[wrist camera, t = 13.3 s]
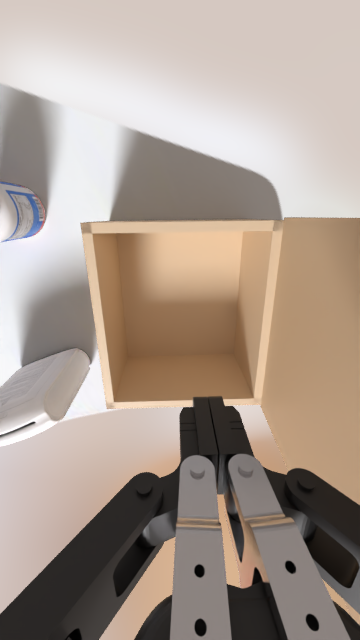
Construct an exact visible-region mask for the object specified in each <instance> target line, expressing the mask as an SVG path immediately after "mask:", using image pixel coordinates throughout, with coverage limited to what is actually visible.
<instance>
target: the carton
mask: <svg viewBox="0 0 360 640" xmlns="http://www.w3.org/2000/svg"><path fill="white" fill-rule="evenodd" d="M283 224H284V220H258V219H226V220H145V221H101V222H86V223H81V230H82V238H83V245H84V252H85V259H86V266H87V273H88V280H89V287H90V294H91V301H92V308H93V315H94V322H95V329H96V336H97V343H98V350H99V357H100V364H101V371H102V378H103V385H104V392H105V399H106V407H107V409H122V408H157V407H192V406H193V397H208V396H222V398H223V401H224V405H225V406H226V405H261V398H262V391H263V383H264V375H265V367H266V359H267V351H268V343H269V335H270V327H271V319H272V311H273V304H274V296H275V288H276V280H277V272H278V264H279V256H280V248H281V240H282V232H283Z"/></svg>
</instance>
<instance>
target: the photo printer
mask: <svg viewBox="0 0 360 640" xmlns="http://www.w3.org/2000/svg"><path fill="white" fill-rule="evenodd" d="M89 365H90V360H89V357H88V356H87V354H86V353H85V352H84V351H82V350H79V349H78V348H74V349H69V350H66V351H63V352H60V353H57V354H54V355H51V356H49V357H46V358H43V359H41V360H38V361H35V362H33V363H30V364H28V365H26V366H24V367H22V368H21V369H19V370H18V371H16V372H15V373H14V374H13V375H12V376H11V377H10V378H9V379H8V380H7V381H6V382H5V383H4V384H3V385H2V386H1V387H0V446H4V445H8V444H11V443H15V442H18V441H21V440H23V439H26V438H29V437H31V436H33V435H36V434H38V433H40V432H42V431H44V430H46V429H48V428H50V427H51V426H53V425H54V424H56V423H58V422H59V421H60V420H61V419H62V418H63V417H64V416H65V414H66V412H67V411H68V409H69V407H70V405H71V403H72V402H73V400H74V398H75V396H76V394H77V393H78V391H79V389H80V387H81V385H82V383H83V382H84V380H85V378H86V376H87V374H88V372H89V370H90V367H89Z"/></svg>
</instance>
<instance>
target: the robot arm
mask: <svg viewBox="0 0 360 640" xmlns="http://www.w3.org/2000/svg"><path fill="white" fill-rule="evenodd" d="M180 454H181V462H180V464H179V466H178V468H177V469H176V470H175V471H174V472H173V473H171V474H169V475H167V476H164V477H161V478H159V477H158V476H157V475H155V474H153V473H149V472H144V473H140V474H138V475H136V476H134V477H133V478H132V479H131V480H130V481H129V482H128V483H127V484H126V485H125V486H124V487H123V488H122V489H121V490H120V491H119V492H118V493H117V494H116V495H115V496H114V497H113V499H111V501H110V502H109V503H108V504H107V505H106V506H105V507H104V508H103V509H102V510H101V511H100V512H99V513H98V514H97V515H96V516H95V517H94V518H93V519H92V520H91V521H90V522H89V523H88V524H87V525H86V526H85V527H84V528H83V529H82V530H81V531H80V532H79V534H78V535H77V536H76V537H75V538H74V539H73V540H72V541H71V542H70V543H69V544H68V545H67V546H66V547H65V548H64V549H63V550H62V551H61V552H60V553H59V554H58V555H57V556H56V557H55V558H54V559H53V560H52V561H51V562H50V563H49V564H48V565H47V566H46V568H45V569H44V570H43V571H42V572H41V573H40V574H39V575H38V576H37V577H36V578H35V579H34V580H33V581H32V582H31V583H30V584H29V585H28V586H27V587H26V588H25V589H24V590H23V591H22V592H21V593H20V594H19V596H18V597H16V599H14V601H13V602H12V603H11V604H10V605H9V606H8V607H7V608H6V609H5V610H4V611H3V612H2V613H1V614H0V640H99V638H100V637H101V635H102V634H103V633H104V631H105V629H106V628H107V627H108V625H109V624H110V622H111V621H112V619H113V618H114V616H115V615H116V613H117V612H118V611H119V609H120V608H121V606H122V604H123V603H124V602H125V600H126V599H127V597H128V596H129V594H130V593H131V591H132V590H133V589H134V587H135V586H136V584H137V583H138V581H139V580H140V578H141V577H142V575H143V574H144V572H145V571H146V569H147V568H148V566H149V565H150V563H151V562H152V560H153V559H154V558H155V556H156V554H157V553H158V552H159V550H160V549H161V547H162V546H163V544H164V542H165V541H167V540H169V539H171V538H174V537H176V539H175V541H176V542H175V558H174V575H173V576H174V577H173V594H172V595H170V596H169V597H167V598H166V599H164V600H163V601H162V602H161V603H160V604H158V605H157V606H156V607H155V609H154V610H153V611H152V612H151V613H150V615H149V616H148V617H147V619H146V620H145V622H144V623H143V625H142V627H141V628H140V630H139V632H138V634H137V635H136V638H135V639H134V640H360V625H359V624H358V623H357V622H356V621H355V620H354V619H353V618H352V617H351V616H350V615H349V614H348V613H347V612H346V611H345V610H344V609H343V608H341V607H340V606H339V605H338V604H337V603H335V602H334V601H333V600H332V599H331V597H330V595H329V593H328V591H327V589H326V587H325V584H324V582H323V580H324V581H325V582H327V584H328V585H329V586H331V588H333V589H334V590H335V591H336V592H337V593H338V594H339V595H340V596H341V597H342V598H343V599H344V600H345V601H346V602H347V603H348V604H349V605H350V606H351V607H352V608H353V609H354V610H355V611H356V612H358V613H359V614H360V505H359V504H357V503H356V502H354V501H353V500H352V499H350V498H349V497H347V496H346V495H344V494H343V493H341V492H340V491H339V490H337V489H336V488H334V487H333V486H331V485H330V484H328V483H327V482H326V481H324V480H323V479H321V478H320V477H318V476H317V475H316V474H314V473H312V472H311V471H309V470H306V469H302V468H294V469H291V470H290V471H289V472H288V473H287V475H284V474H281V473H277V472H273V471H270V470H268V469H266V468H264V467H263V466H262V465H261V463H260V462H259V461H258V460H257V459H256V458H255V457H254V455H253V452H252V449H251V446H250V443H249V440H248V437H247V434H246V431H245V429H244V425H243V423H242V419H241V417H240V414H239V412H238V411H237V410H236V409H235V408H234V407H233V406H225V405H224V401H223V398H222V396H208V397H193V407H184V408H183V409H182V411H181V413H180ZM216 489H217V490H216ZM217 494H224V499H225V516H226V521H227V525H228V528H229V533H230V536H231V540H232V545H233V549H234V553H235V557H236V561H237V565H238V570H239V577H240V587H241V588H238V587H235V586H232V585H228V584H227V583H226V571H225V561H224V550H223V538H222V528H221V523H220V522H219V514H218V502H217ZM322 579H323V580H322Z"/></svg>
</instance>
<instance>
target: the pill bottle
mask: <svg viewBox="0 0 360 640" xmlns="http://www.w3.org/2000/svg"><path fill="white" fill-rule="evenodd" d="M44 223H45V210H44V207H43V205H42V203H41V201H40V199H39V198H38V197H37V195H36V194H35V193H33V192H32V191H31V190H29V189H28V188H26V187H23V186H21V185H17V184H11V183H6V182H0V242H4V241H10V240H15V239H21V238H27V237H31V236H34V235H36V234H37V233H38V232H39V231H40V230H41V229H42V228H43V226H44Z"/></svg>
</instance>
